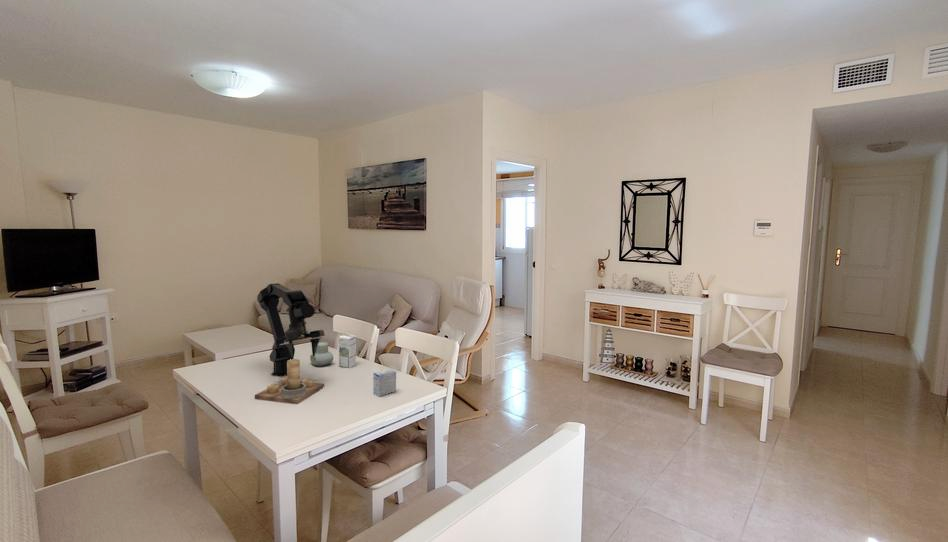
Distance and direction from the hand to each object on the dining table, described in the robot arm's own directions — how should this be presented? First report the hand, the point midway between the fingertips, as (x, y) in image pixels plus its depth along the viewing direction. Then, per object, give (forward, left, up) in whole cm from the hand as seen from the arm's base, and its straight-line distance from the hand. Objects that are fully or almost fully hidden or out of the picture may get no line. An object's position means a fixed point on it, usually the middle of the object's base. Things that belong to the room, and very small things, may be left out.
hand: (303, 357), depth 178 cm
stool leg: (+6, -15, -9) cm, 18 cm away
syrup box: (+5, +27, -11) cm, 30 cm away
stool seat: (+1, -10, -11) cm, 15 cm away
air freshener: (-8, +26, -11) cm, 29 cm away
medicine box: (+36, 0, -11) cm, 38 cm away
